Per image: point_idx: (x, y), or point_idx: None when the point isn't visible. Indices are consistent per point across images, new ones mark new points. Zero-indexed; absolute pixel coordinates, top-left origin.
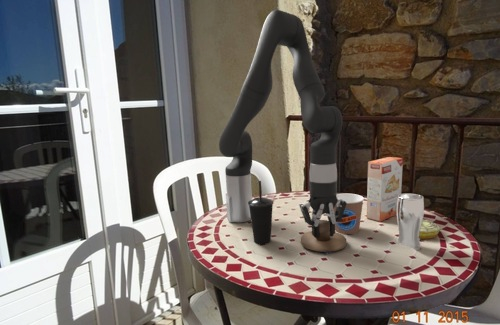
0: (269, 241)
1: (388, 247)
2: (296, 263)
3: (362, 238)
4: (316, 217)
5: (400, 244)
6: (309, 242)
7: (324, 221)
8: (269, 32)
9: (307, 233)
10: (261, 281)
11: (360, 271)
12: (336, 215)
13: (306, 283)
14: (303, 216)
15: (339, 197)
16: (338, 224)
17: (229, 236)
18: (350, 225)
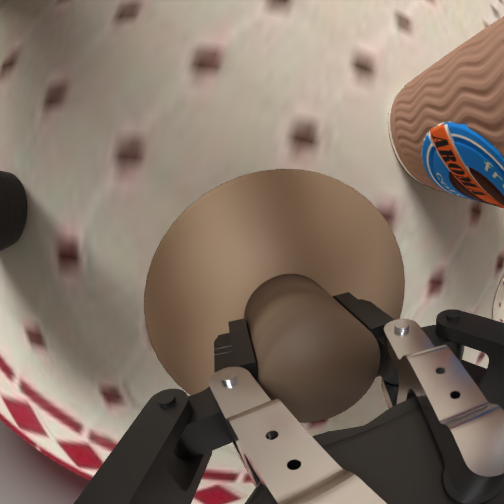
0: (9, 236)
1: (480, 297)
2: (133, 401)
3: (459, 206)
4: (255, 485)
5: (502, 311)
6: (192, 357)
7: (343, 360)
8: None
9: (205, 215)
10: (56, 447)
11: None
12: (459, 344)
13: None
14: (123, 443)
15: None
16: (432, 154)
17: None
18: (472, 199)
